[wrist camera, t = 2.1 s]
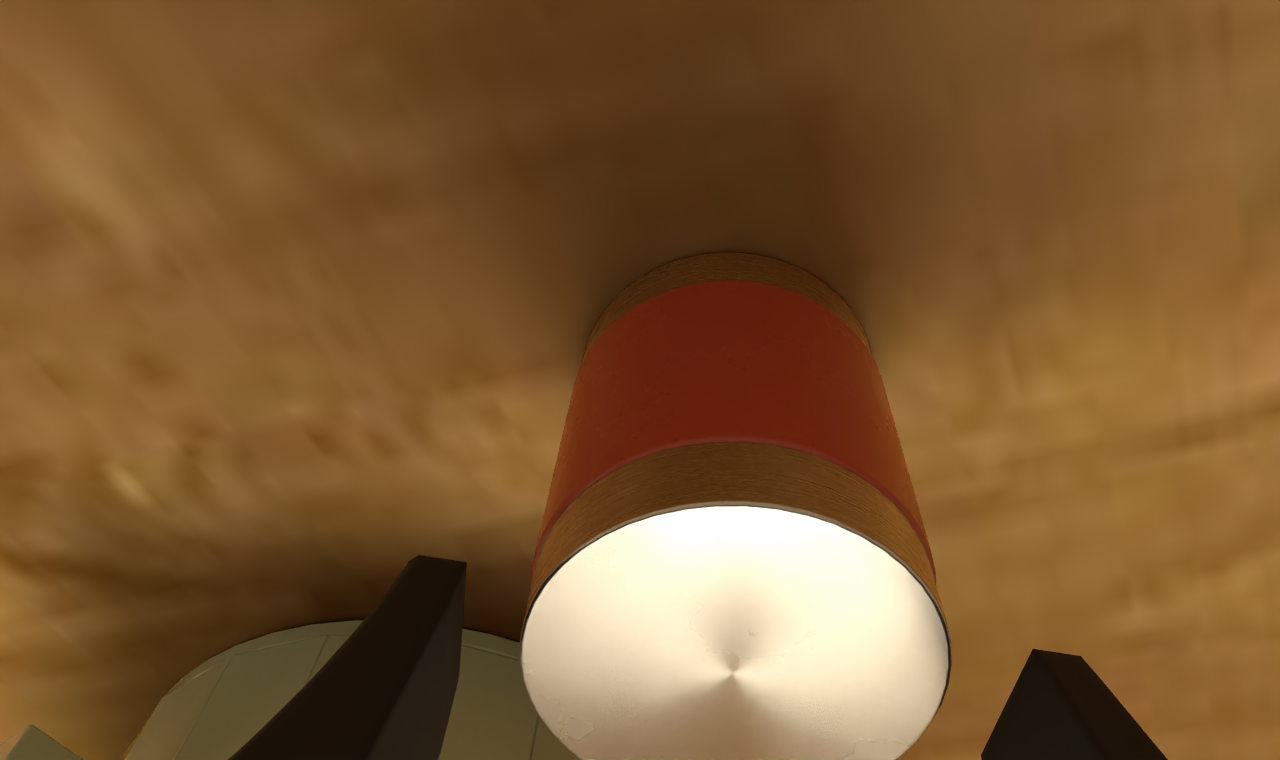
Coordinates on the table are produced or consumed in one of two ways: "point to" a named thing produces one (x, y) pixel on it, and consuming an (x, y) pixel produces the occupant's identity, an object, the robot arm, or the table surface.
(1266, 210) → the table surface
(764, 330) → the tin
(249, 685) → the pot
